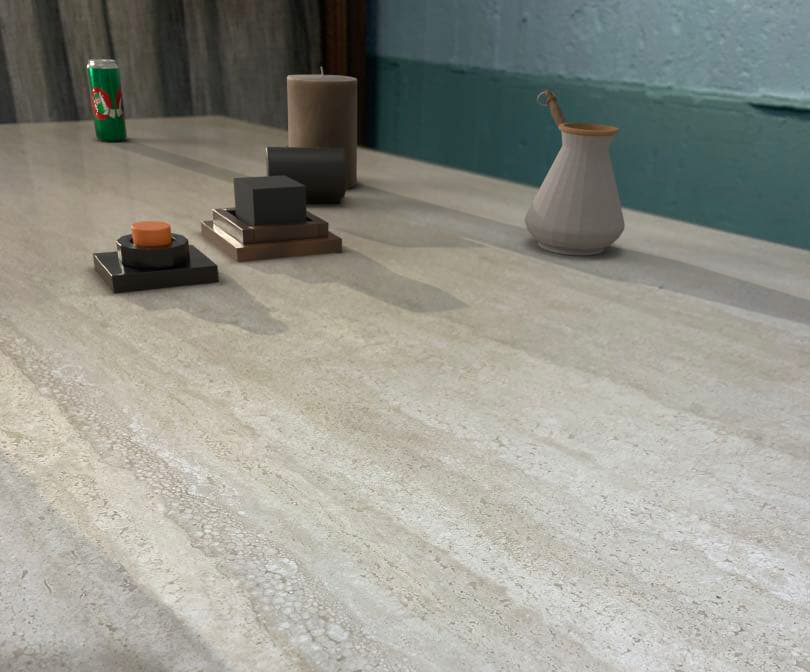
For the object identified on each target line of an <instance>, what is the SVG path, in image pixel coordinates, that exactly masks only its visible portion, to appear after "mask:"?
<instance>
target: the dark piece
mask: <svg viewBox="0 0 810 672" xmlns="http://www.w3.org/2000/svg"><path fill="white" fill-rule="evenodd" d="M171 237H172V243H171V244H167V245H161V246H140V245H135V244H133V237H132V233H129V234H127V235H122V236H120V237H118V238H117V239H116V240H115V245H116V251H115V250H114V251H105V252H103V251H102V252H93V253H92V258H93V265H94V270H95V272H96V273H97V275H98V276H99V277H100V278H101V279H102V281H103V282H104V283H105V285H107V287H108V288H109V289H110V290H111V292H112V293H113V294H123V293H132V292H141V291H150V290H160V289H169V288H178V287H187V286H188V287H189V286H197V285H199V286H200V285H208V284H215V283H220V278H219V265H218V264H217V263H215V262H214V261H213V260H212V259H211V258H209V257H208V256H207V255H206V254H205V253H203V251H201V250H200V249H198V248H197V247H196V246H195V245H193V244H190V243H189V239H188V238H187V237H186V236H184V235H183V234H178V233H175V232H171Z"/></svg>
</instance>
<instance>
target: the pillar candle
mask: <svg viewBox="0 0 810 672" xmlns="http://www.w3.org/2000/svg"><path fill="white" fill-rule="evenodd" d="M320 71H321V74H291V75H289V74H288V75H287V76H286V88H287V89H286V90H287V120H288V121H287V123H288V125H287V126H288V127H287V128H288V131H287V132H288V147H308V148H317V147H318V146H319V147H320V148H327V147H329V148H343V149H344V152H345V158H346V191H347V190H350V189H352V188H354V187H357V184H358V179H357V178H358V177H357V176H358V171H357V170H358V169H357V167H358V79H357V78H356V77H352V76H347V75H339V74H338V75H337V74H336V75H335V74H324V68H323V66H320Z"/></svg>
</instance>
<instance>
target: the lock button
mask: <svg viewBox="0 0 810 672" xmlns="http://www.w3.org/2000/svg"><path fill="white" fill-rule="evenodd" d="M130 226H131V227H130V228H131V234H132V237H133V244H135V245H140V246H161V245H167V244H171V243H172V237H171V233H172V228H171V224H170V223H168V222H165V221H159V220H145V221H143V220H142V221H138V222H134V223H133V224H131V225H130Z"/></svg>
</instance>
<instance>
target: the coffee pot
mask: <svg viewBox="0 0 810 672" xmlns="http://www.w3.org/2000/svg"><path fill="white" fill-rule="evenodd" d="M543 94H544V97H545V99H546V101H545V103H546V104H542V102H540V101H539V99H540V96H543ZM536 99H537V103H538V104H539V105H540V106H542V107H549V109H550V115H551V117H552V118H553V120H554V122H555V124H556V126H557V128H558V130H559V131H560V133H561V142H562V145H561V148H560V150H559V152H558V153H557V155H556V157H555V159H554V161H553V162H552V165H551V166H550V168H549V170H548V173H547V174H546V176H545V178H544V180H543V181H542V184H541V185H540V187H539V189H538V191H537V193H536V194H535V197H534V199H533V200H532V202H531V204H530V206H529V208H528V210H527V212H526V214H525V216H524V223H525V226H526V230H527V231H528V233H529V234H530V235H531V237H532V238H533V239H534V240H535V241H537V245H538V247H540V248H541V249H542V250H545V251H548V252H551V253H552V252H553V253H556V254H561V255H569V256H570V255H571V256H592V255H593V256H595V255H598V254H602V253H603V252H604V251H605V248H607V247H610V246H611V245H612V244H614V243H615V242H616V241H617V240H619V238H620V237H621V236H622V234H623V233H624V231H625V225H626V224H625V219H624V214H623V209H622V205H621V201H620V196H619V195H620V194H619V191H618V187H617V182H616V178H615V177H616V176H615V173H614V168H613V164H612V159H611V155H610V151H609V149H610V146H611V143H612V142H613V140H614V137H615V135H616V134H617V135H618V133H619V131H620V130H619V127H616V126H613V125H606V124H599V123H588V122H567V121H566V119H565V116H564V113H563V111H562V108H561V107H560V106H559V104H558V103H557V102H558V101H557V100H558V99H557V97H556V94H555V93H553V91H551V90H550V89H549V88H546V89H545V90H544V91H542V92H540V93H539V94H538V96H537V98H536Z"/></svg>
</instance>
